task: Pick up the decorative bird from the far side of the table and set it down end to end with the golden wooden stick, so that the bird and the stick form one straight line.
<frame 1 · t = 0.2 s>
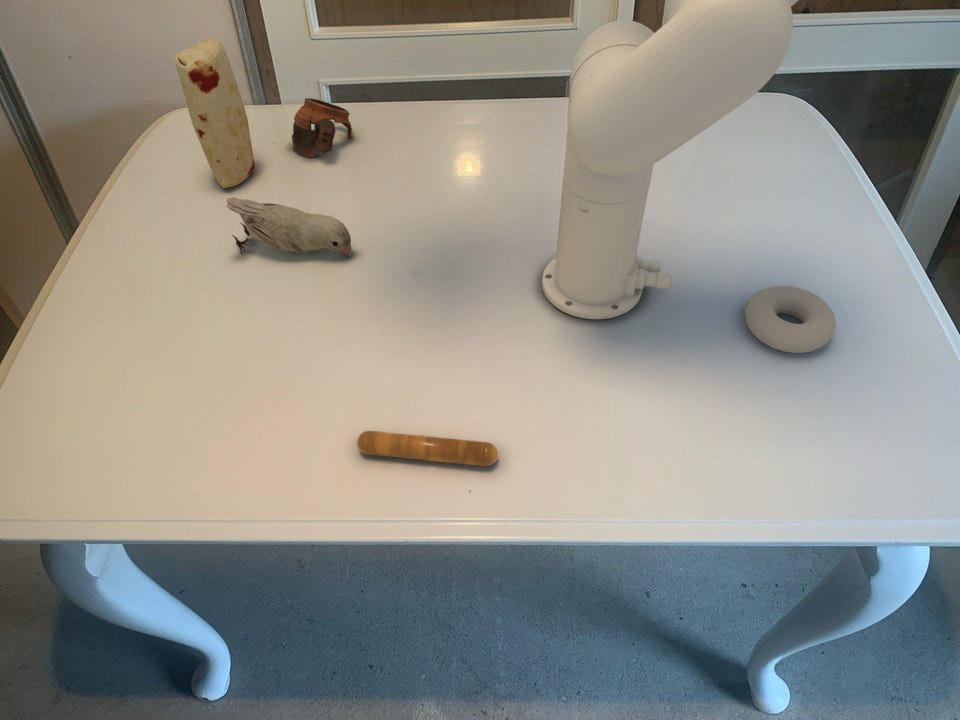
food model: (238, 177, 106), on the table
decorative bird: (296, 251, 93), on the table
wooden stick: (427, 455, 70), on the table
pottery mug: (324, 147, 112), on the table
donut: (784, 329, 81), on the table
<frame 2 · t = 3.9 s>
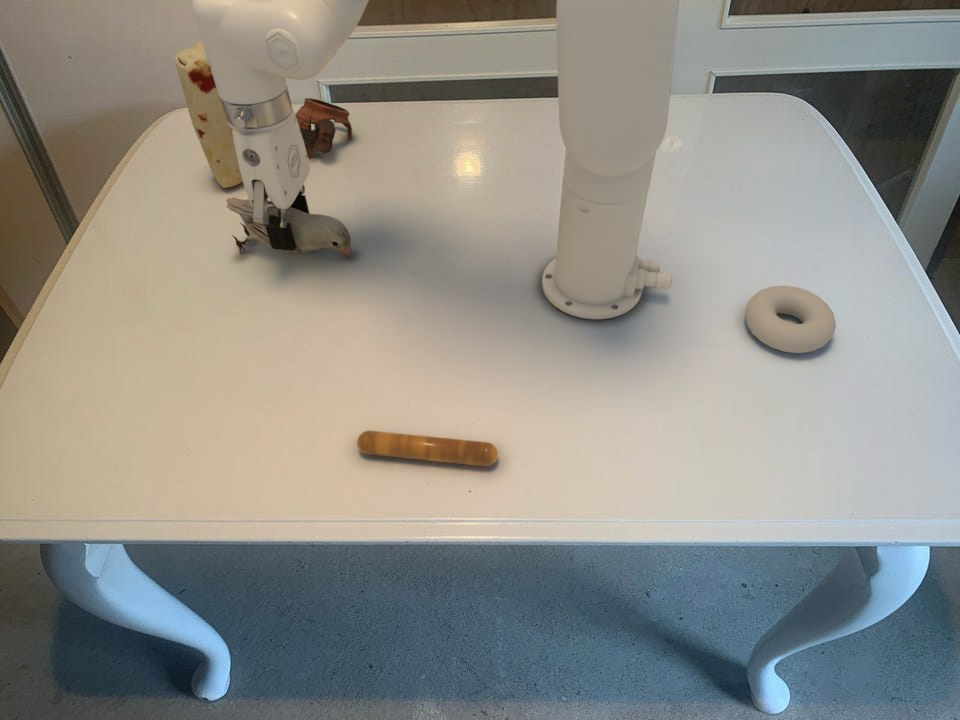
hand: (291, 233, 91), 3 cm above the table, tool pointing down, fingers closed on decorative bird, 5 cm apart
decorative bird: (296, 251, 93), on the table, touching gripper
everything else where it was.
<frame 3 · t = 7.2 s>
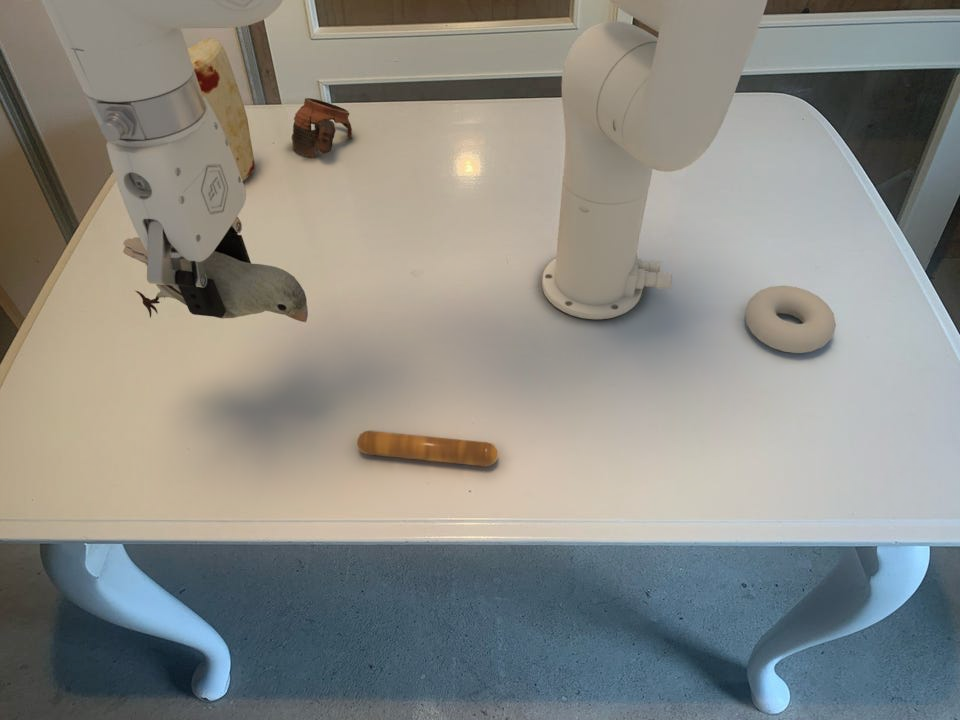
hand: (222, 289, 63), 16 cm above the table, tool pointing down, fingers closed on decorative bird, 5 cm apart
decorative bird: (231, 313, 65), point 13 cm above the table, touching gripper
everything else where it was.
when the fingers open (3 cm above the table, at t = 11.0 s): decorative bird stays where it is, on the table.
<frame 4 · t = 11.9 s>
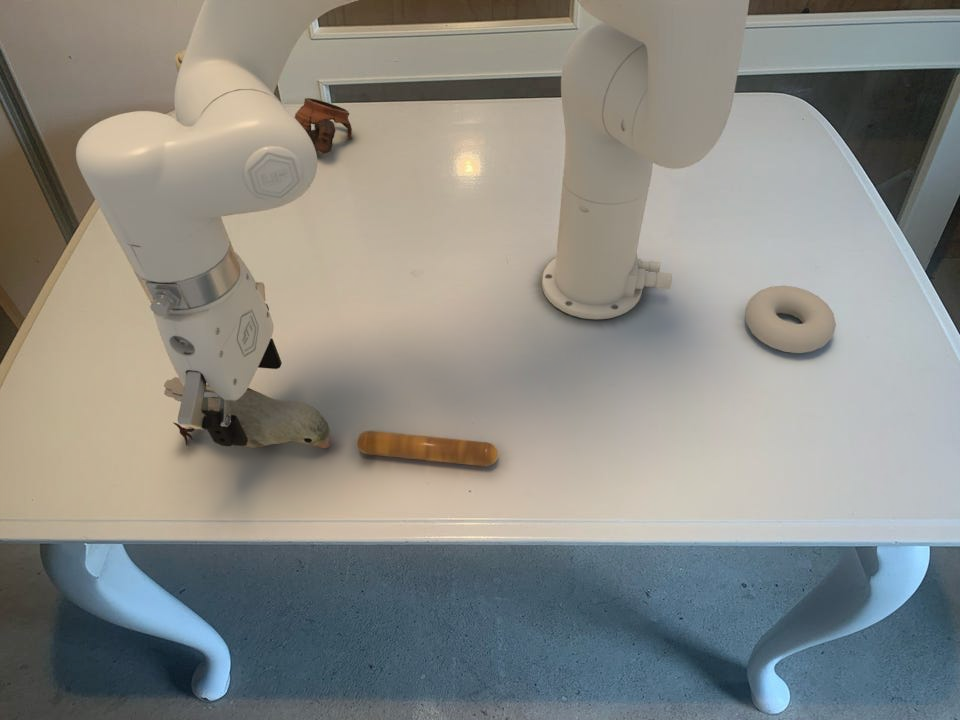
hand: (250, 402, 68), 6 cm above the table, tool pointing down, fingers open, 9 cm apart
decorative bird: (259, 439, 72), on the table
everything else where it was.
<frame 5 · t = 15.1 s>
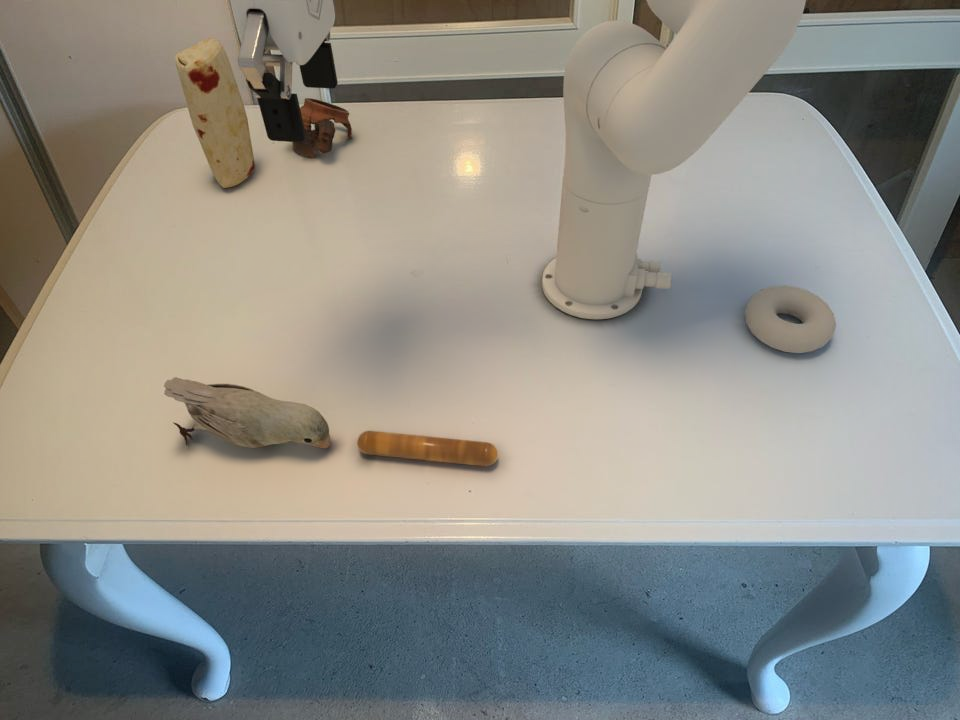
hand: (305, 111, 61), 28 cm above the table, tool pointing down, fingers open, 9 cm apart
nothing on the table moved.
at the end: decorative bird tilted 0°; the gripper is holding nothing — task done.
